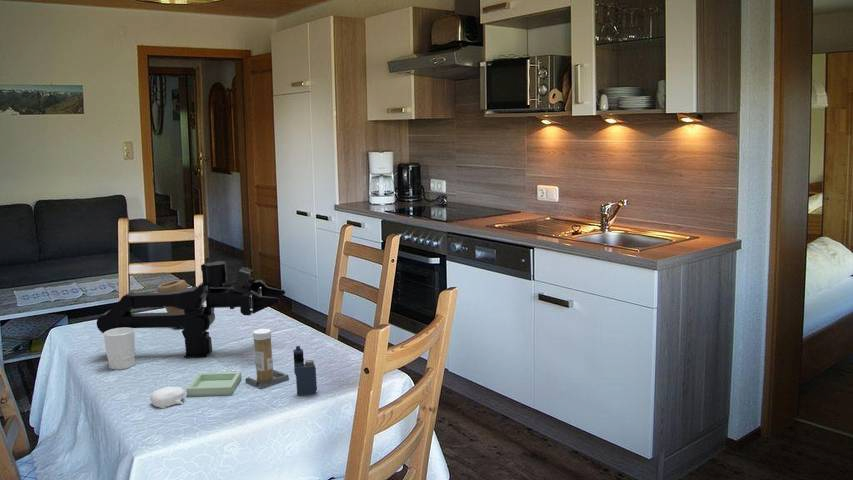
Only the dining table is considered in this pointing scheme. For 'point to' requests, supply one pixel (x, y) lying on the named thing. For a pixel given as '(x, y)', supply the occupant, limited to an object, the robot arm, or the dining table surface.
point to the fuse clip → (279, 375)
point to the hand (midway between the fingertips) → (282, 296)
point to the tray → (214, 384)
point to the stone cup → (172, 287)
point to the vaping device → (304, 373)
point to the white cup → (120, 347)
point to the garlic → (167, 396)
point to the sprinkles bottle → (263, 354)
